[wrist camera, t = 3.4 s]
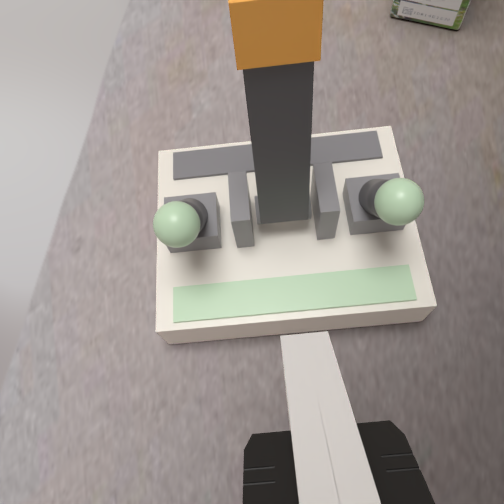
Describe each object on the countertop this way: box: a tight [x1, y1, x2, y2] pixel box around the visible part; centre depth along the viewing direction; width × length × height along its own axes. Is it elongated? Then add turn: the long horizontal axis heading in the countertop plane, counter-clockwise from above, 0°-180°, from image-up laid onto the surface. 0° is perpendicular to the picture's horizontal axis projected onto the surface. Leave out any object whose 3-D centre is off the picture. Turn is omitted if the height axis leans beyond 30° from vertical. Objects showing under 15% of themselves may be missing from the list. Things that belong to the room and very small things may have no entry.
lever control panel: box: [153, 126, 437, 345], centre depth 25 cm, size 15×12×9 cm
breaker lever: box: [228, 0, 323, 224], centre depth 20 cm, size 3×2×13 cm
